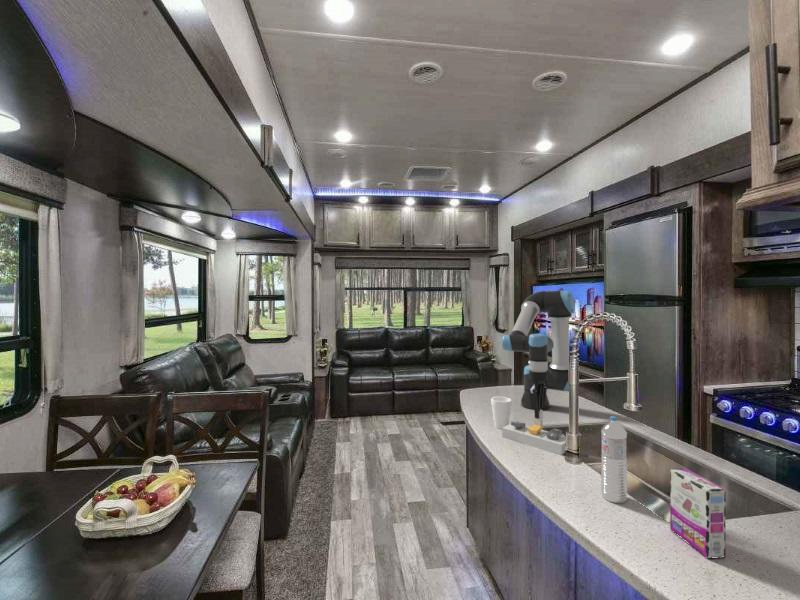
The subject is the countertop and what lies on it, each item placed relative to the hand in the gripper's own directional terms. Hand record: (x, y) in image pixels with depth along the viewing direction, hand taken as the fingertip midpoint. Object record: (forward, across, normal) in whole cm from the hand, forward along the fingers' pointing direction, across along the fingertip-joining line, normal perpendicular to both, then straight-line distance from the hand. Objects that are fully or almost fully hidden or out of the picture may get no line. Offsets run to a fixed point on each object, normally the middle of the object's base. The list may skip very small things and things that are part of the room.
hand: (538, 424), depth 158 cm
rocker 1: (+1, +3, -8) cm, 8 cm away
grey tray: (+7, +3, +4) cm, 8 cm away
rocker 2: (+1, +3, +8) cm, 9 cm away
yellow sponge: (+1, +3, 0) cm, 3 cm away
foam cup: (+7, -3, -20) cm, 21 cm away
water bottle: (+7, +27, +37) cm, 46 cm away
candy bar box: (+7, +35, +58) cm, 68 cm away
